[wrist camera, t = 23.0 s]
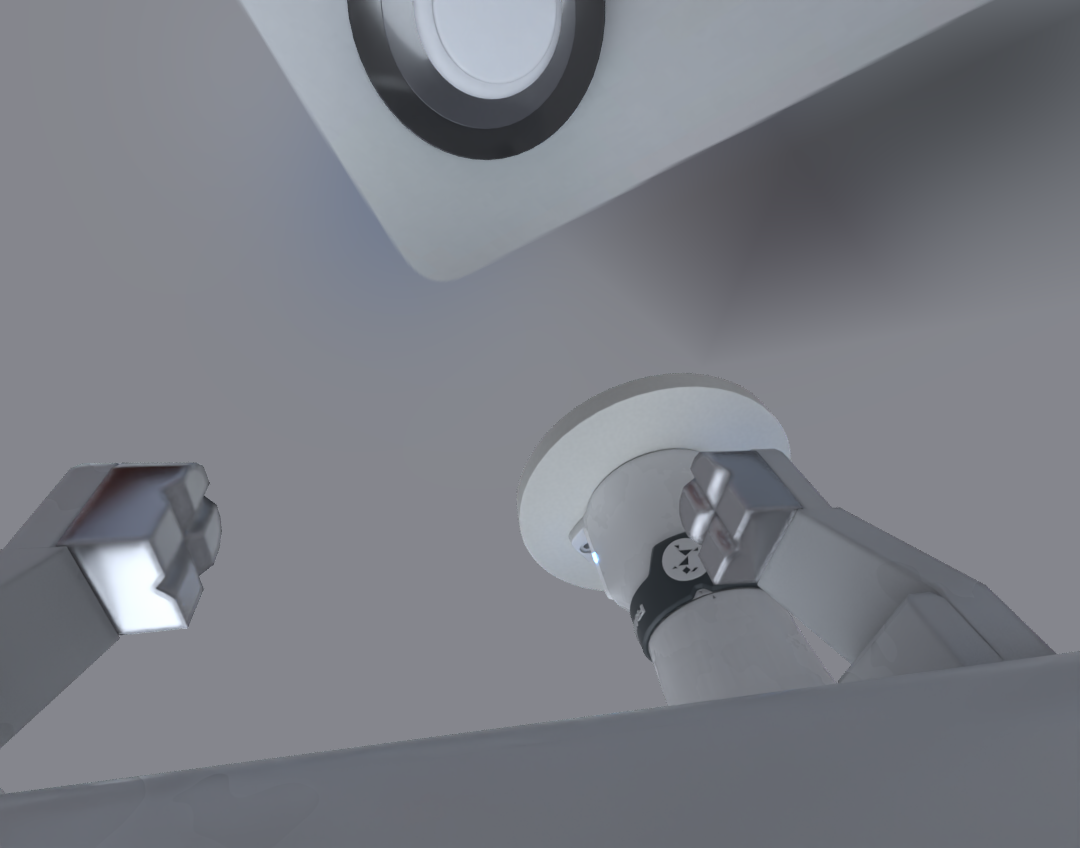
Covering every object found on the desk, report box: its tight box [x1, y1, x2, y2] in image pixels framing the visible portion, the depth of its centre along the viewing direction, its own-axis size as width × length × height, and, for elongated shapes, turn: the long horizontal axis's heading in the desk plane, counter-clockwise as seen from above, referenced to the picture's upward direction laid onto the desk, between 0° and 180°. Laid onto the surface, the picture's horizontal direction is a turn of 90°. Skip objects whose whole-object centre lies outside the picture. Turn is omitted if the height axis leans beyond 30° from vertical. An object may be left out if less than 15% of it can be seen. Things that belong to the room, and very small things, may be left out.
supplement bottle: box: [413, 0, 562, 99], centre depth 20 cm, size 5×5×10 cm
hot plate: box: [347, 0, 605, 160], centre depth 25 cm, size 12×12×2 cm
